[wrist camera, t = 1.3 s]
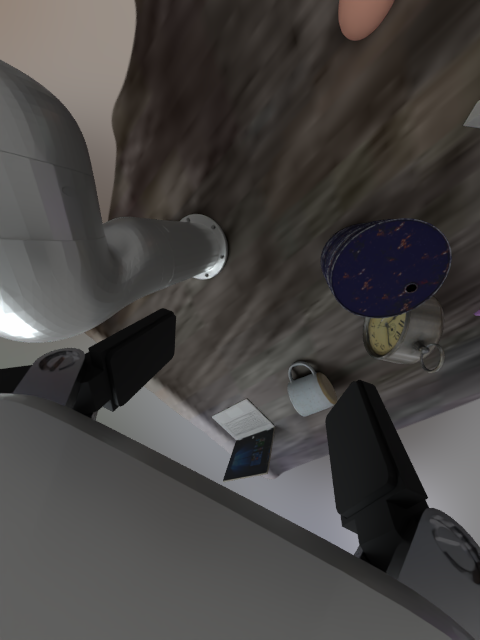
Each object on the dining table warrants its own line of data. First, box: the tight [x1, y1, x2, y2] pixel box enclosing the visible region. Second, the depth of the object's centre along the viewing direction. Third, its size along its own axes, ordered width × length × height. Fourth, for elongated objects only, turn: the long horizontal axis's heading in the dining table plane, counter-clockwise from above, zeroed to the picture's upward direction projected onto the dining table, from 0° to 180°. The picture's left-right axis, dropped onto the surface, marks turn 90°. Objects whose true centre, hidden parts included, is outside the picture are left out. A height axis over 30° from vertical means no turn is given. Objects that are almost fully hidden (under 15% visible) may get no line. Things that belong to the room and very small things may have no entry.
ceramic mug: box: [288, 361, 337, 416], centre depth 40 cm, size 11×8×8 cm
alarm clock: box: [363, 296, 445, 373], centre depth 26 cm, size 11×5×16 cm, turn 176°
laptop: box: [212, 399, 275, 482], centre depth 53 cm, size 18×13×13 cm
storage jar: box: [321, 218, 452, 318], centre depth 24 cm, size 10×10×15 cm
